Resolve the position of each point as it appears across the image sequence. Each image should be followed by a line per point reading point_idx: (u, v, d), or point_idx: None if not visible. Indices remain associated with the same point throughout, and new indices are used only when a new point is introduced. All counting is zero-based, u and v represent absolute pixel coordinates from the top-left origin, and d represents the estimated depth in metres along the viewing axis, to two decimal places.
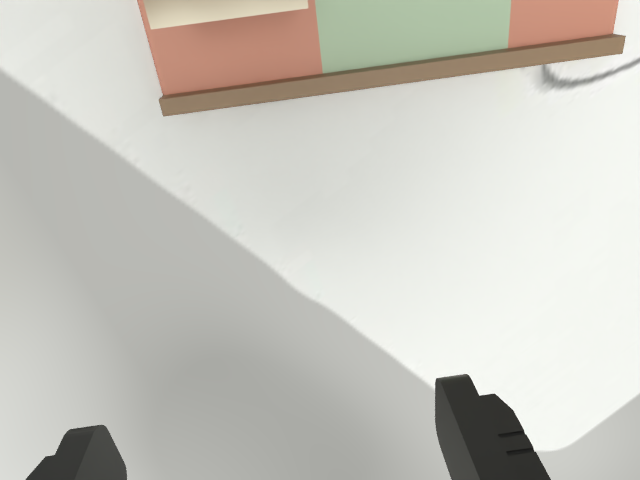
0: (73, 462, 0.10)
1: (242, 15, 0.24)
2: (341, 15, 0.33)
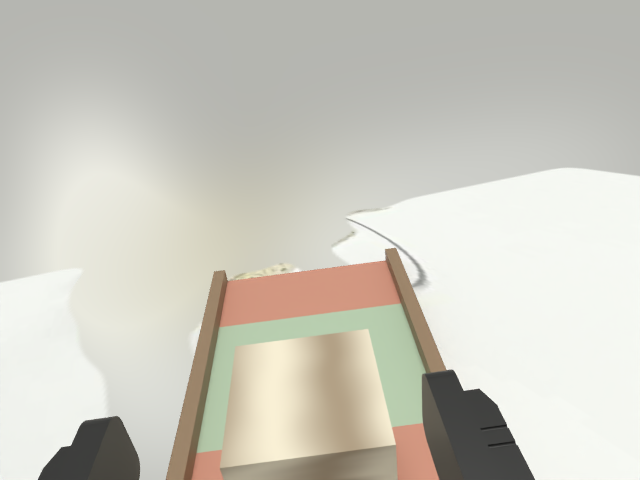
0: (90, 452, 0.10)
1: (376, 369, 0.25)
2: (387, 407, 0.36)
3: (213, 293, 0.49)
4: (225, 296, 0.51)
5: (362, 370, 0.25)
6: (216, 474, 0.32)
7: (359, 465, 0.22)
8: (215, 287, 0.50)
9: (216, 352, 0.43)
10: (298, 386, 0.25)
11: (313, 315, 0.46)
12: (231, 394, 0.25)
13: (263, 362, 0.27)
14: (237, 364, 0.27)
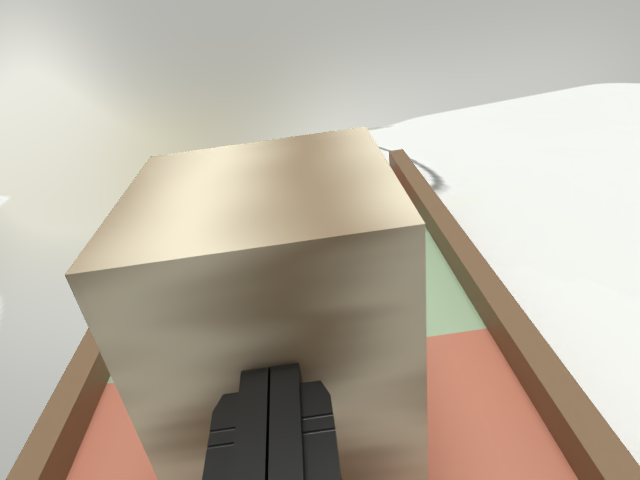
0: (259, 395, 0.11)
1: (381, 155, 0.15)
2: None
3: None
4: None
5: (356, 158, 0.15)
6: None
7: (351, 276, 0.11)
8: None
9: None
10: (244, 180, 0.14)
11: None
12: (125, 196, 0.14)
13: (190, 165, 0.16)
14: (147, 170, 0.16)
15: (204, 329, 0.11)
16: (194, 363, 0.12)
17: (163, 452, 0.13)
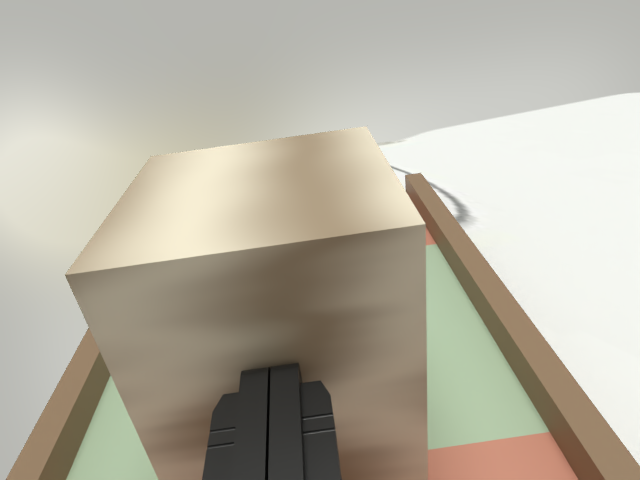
0: (259, 395, 0.11)
1: (381, 155, 0.14)
2: (434, 408, 0.19)
3: None
4: None
5: (357, 158, 0.15)
6: None
7: (351, 276, 0.11)
8: None
9: None
10: (244, 180, 0.14)
11: None
12: (125, 196, 0.14)
13: (190, 165, 0.16)
14: (147, 170, 0.16)
15: (203, 329, 0.11)
16: (195, 363, 0.12)
17: (163, 452, 0.13)
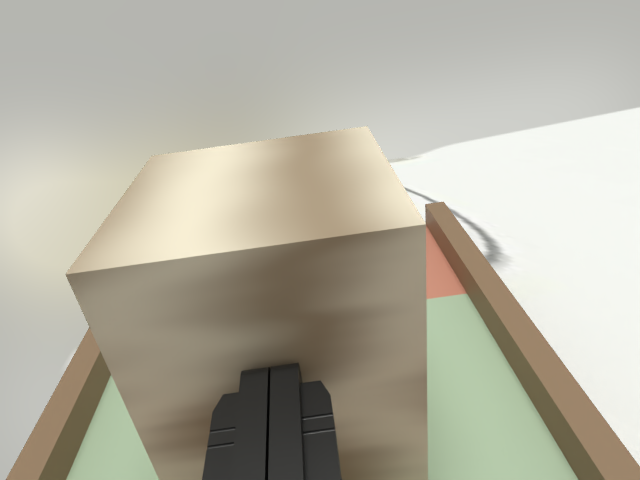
0: (259, 395, 0.11)
1: (382, 155, 0.14)
2: None
3: None
4: None
5: (357, 158, 0.15)
6: None
7: (351, 276, 0.11)
8: None
9: (106, 393, 0.21)
10: (245, 180, 0.14)
11: None
12: (126, 195, 0.14)
13: (191, 164, 0.16)
14: (148, 169, 0.16)
15: (204, 329, 0.11)
16: (195, 362, 0.12)
17: (163, 451, 0.13)
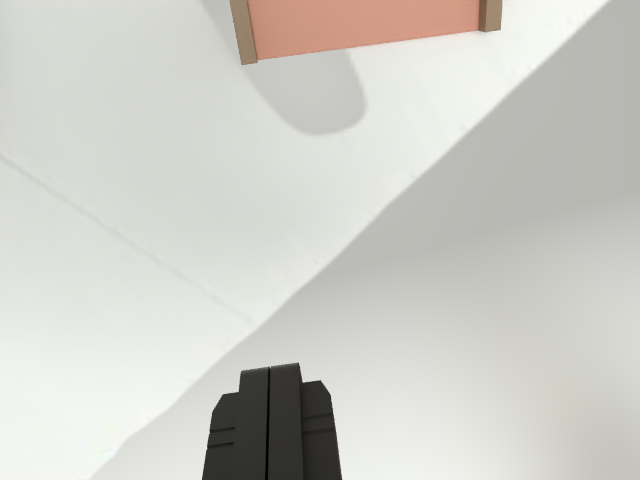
0: (259, 395, 0.11)
1: None
2: None
3: None
4: None
5: None
6: None
7: None
8: None
9: None
10: None
11: None
12: None
13: None
14: None
15: None
16: None
17: None
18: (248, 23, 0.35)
